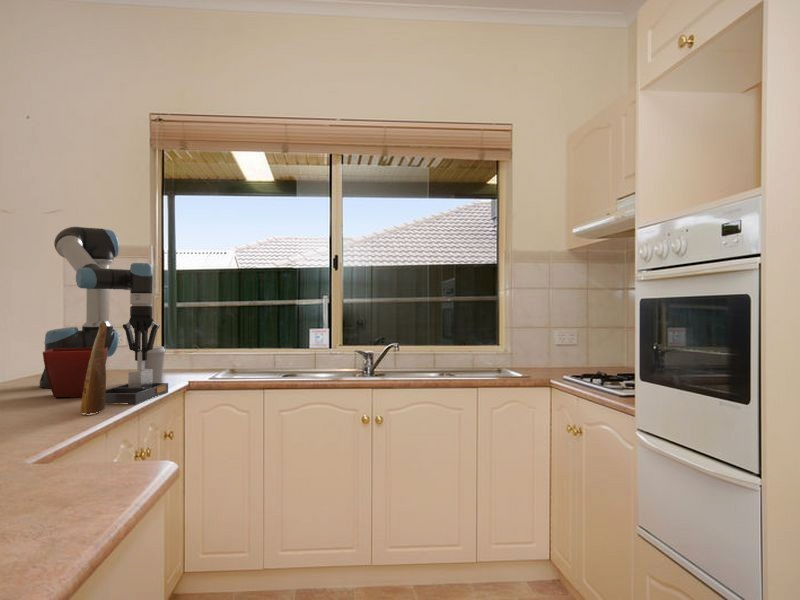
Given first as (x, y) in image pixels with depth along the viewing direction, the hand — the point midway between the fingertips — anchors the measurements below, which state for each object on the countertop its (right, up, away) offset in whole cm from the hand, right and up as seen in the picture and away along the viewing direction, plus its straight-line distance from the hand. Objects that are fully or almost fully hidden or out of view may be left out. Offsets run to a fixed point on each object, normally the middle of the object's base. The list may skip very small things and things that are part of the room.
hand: (140, 369), depth 225 cm
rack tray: (0, -9, -7) cm, 11 cm away
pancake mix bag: (0, -9, -34) cm, 35 cm away
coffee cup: (-10, -10, +35) cm, 38 cm away
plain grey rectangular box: (0, -8, 0) cm, 8 cm away
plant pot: (-23, -9, -2) cm, 24 cm away
